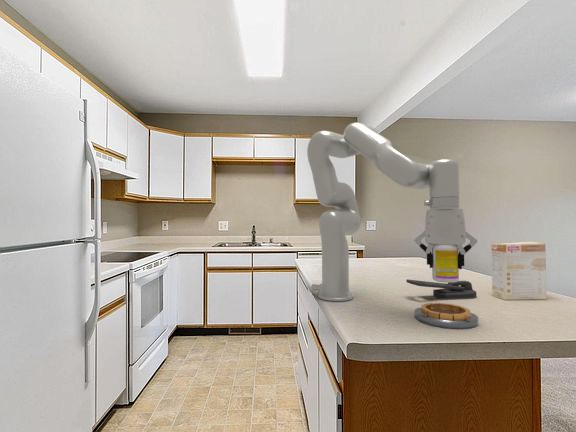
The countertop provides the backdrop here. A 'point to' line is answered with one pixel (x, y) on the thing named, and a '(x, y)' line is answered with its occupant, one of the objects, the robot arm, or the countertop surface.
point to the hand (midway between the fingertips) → (445, 267)
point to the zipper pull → (448, 289)
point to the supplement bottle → (445, 263)
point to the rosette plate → (446, 316)
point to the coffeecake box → (518, 270)
